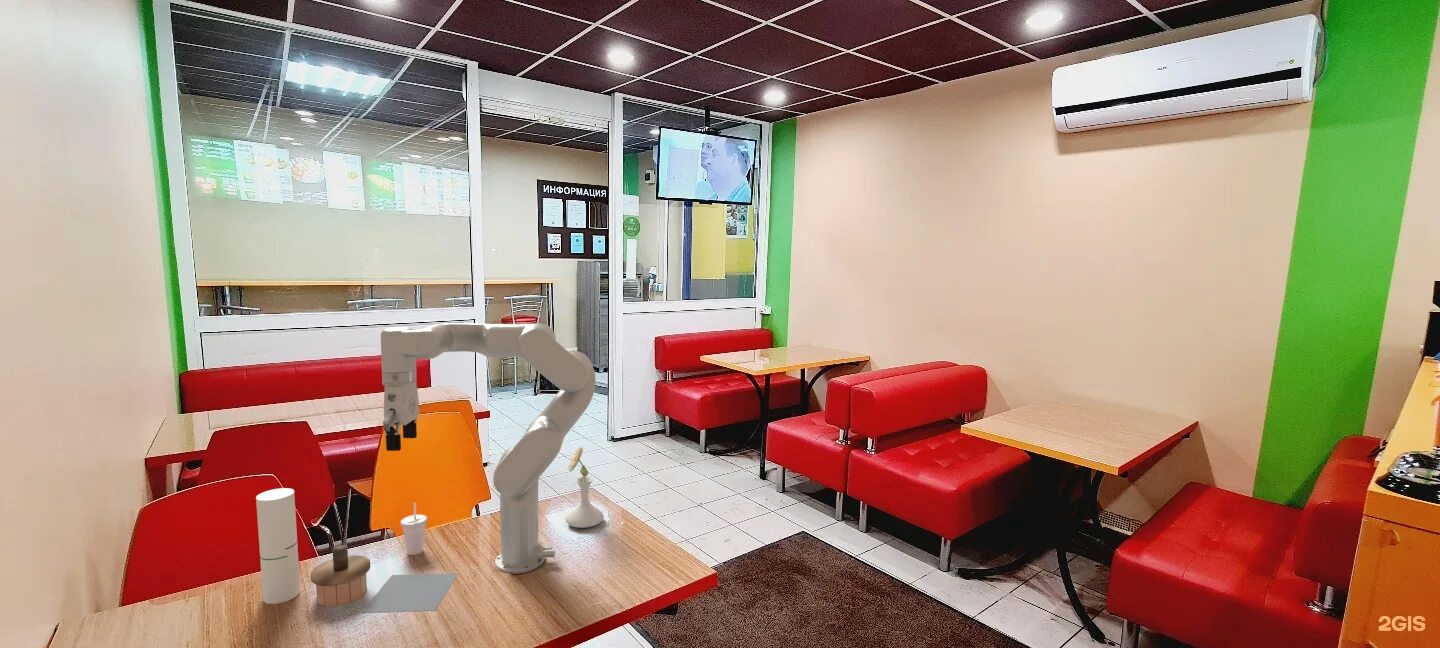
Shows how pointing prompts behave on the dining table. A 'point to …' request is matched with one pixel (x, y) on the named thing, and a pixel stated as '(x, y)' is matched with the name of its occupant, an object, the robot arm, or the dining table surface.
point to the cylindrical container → (278, 545)
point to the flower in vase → (583, 499)
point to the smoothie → (414, 532)
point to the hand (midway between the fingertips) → (402, 443)
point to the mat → (411, 593)
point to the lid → (340, 568)
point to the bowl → (341, 592)
